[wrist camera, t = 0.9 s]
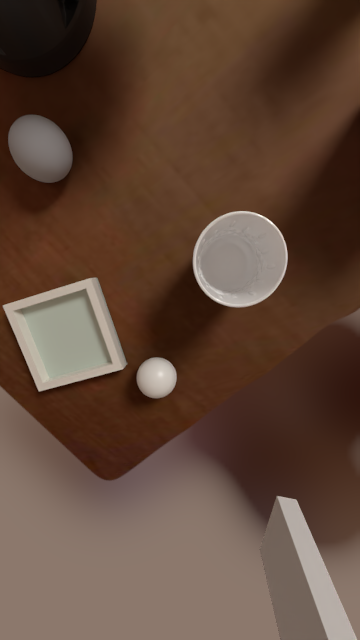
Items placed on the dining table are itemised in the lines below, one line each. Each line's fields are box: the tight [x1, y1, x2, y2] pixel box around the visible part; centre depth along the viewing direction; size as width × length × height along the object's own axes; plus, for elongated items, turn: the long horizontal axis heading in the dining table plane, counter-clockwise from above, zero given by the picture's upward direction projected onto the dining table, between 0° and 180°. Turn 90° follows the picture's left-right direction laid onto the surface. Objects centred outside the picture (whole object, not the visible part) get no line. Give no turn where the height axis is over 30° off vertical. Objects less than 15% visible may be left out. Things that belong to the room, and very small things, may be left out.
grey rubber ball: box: [8, 115, 73, 183], centre depth 27 cm, size 6×6×6 cm
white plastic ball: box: [137, 357, 177, 398], centre depth 32 cm, size 5×5×5 cm
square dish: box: [3, 278, 127, 391], centre depth 33 cm, size 12×12×2 cm
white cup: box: [193, 211, 288, 307], centre depth 26 cm, size 8×8×10 cm
